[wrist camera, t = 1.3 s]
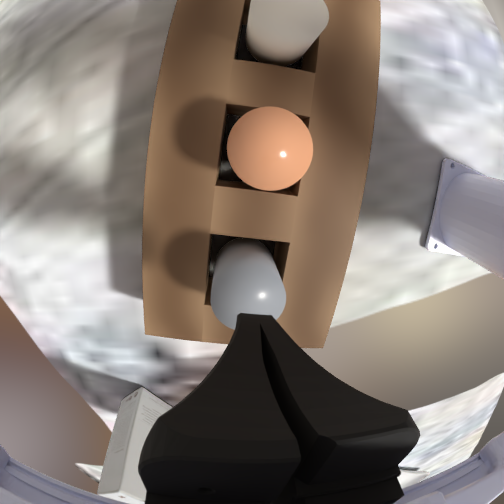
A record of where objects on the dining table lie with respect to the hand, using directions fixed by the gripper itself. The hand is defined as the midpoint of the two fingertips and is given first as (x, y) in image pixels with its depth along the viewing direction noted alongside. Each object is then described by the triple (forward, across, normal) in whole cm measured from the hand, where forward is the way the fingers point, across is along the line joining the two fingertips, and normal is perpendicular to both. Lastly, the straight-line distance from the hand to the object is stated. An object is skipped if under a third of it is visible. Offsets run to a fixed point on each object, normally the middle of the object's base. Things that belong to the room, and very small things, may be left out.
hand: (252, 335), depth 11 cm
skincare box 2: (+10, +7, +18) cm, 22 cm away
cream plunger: (+7, 0, -14) cm, 16 cm away
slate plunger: (+7, 0, 0) cm, 7 cm away
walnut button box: (+10, 0, -7) cm, 12 cm away
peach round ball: (+7, 0, -7) cm, 10 cm away
